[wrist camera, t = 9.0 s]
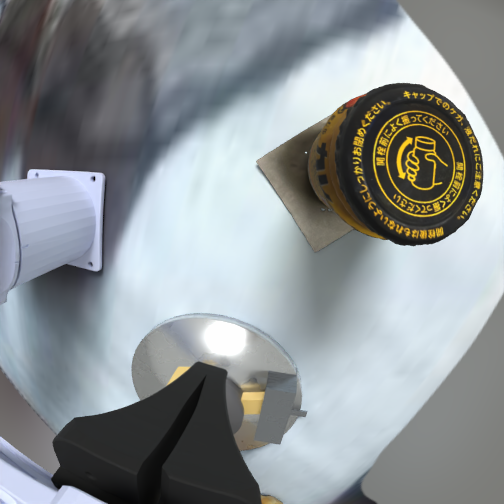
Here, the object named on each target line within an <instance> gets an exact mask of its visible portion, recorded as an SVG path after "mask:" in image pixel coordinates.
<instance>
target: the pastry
mask: <svg viewBox="0 0 504 504" xmlns="http://www.w3.org/2000/svg"><path fill="white" fill-rule="evenodd" d="M261 501H262V504H283V503H282V502H281V501H279V500H277V499H276V498H275V497H272V496H269V495H268V496H262V495H261Z"/></svg>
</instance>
